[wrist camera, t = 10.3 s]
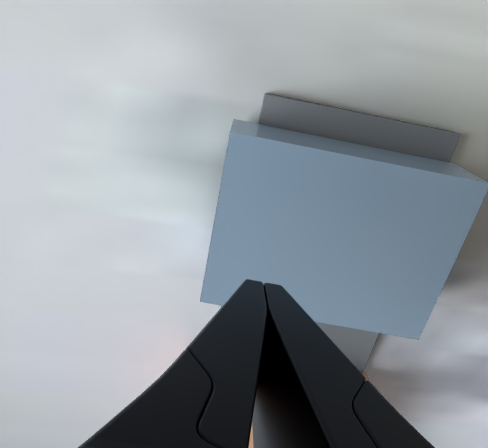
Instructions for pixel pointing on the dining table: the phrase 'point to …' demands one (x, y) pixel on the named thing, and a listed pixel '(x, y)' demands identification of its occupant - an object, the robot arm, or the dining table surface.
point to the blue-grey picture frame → (339, 227)
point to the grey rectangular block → (364, 133)
